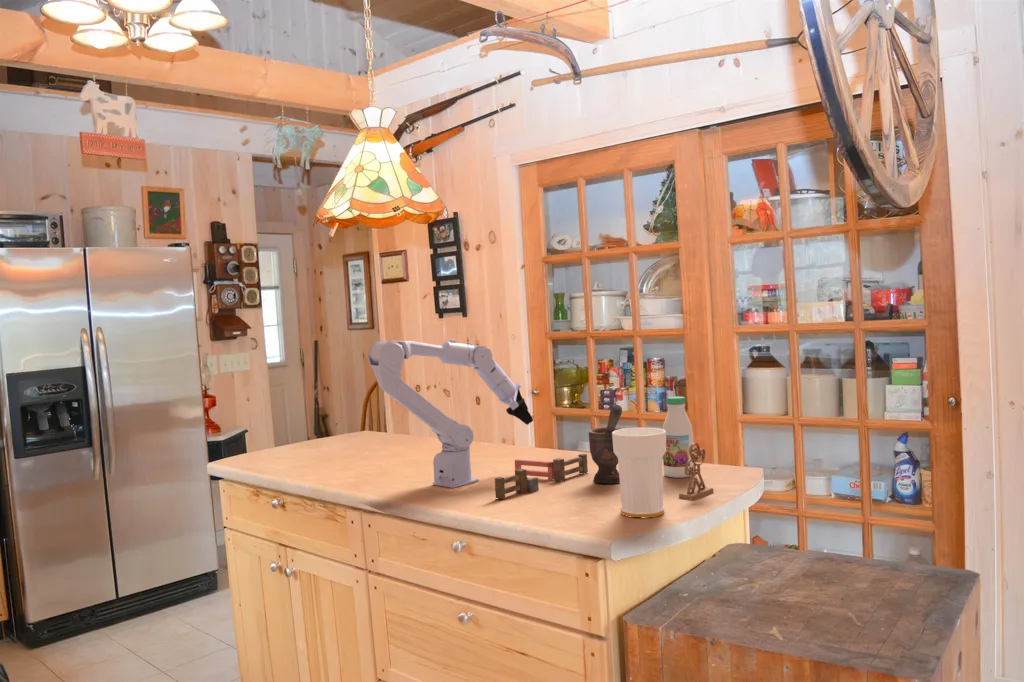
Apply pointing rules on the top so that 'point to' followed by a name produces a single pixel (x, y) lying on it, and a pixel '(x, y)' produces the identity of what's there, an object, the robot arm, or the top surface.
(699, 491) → the gingerbread man figurine
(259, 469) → the top surface
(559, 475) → the fence
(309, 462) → the top surface
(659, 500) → the cup
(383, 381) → the robot arm
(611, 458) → the mortar and pestle
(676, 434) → the milk bottle
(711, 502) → the top surface
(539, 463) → the gate
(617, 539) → the top surface
